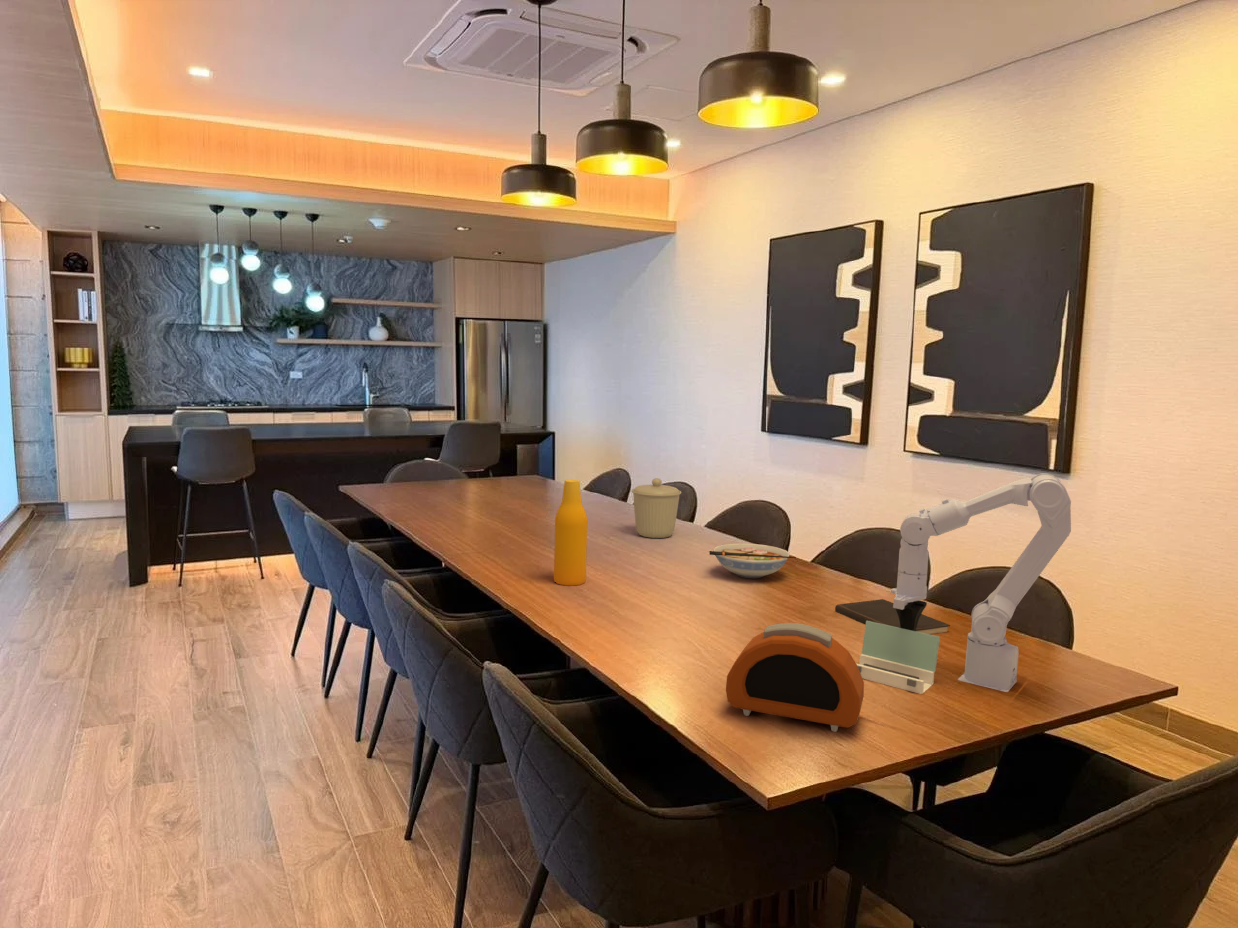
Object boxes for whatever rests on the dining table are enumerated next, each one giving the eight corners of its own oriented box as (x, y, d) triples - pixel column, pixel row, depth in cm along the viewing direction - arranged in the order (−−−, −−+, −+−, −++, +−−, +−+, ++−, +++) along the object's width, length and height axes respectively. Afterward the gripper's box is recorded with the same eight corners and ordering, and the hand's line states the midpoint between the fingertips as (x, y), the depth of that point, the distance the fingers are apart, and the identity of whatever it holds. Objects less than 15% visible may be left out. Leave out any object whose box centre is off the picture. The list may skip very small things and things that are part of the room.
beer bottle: (566, 587, 228) (569, 484, 225) (547, 580, 235) (548, 479, 232) (592, 582, 234) (595, 481, 231) (572, 575, 241) (574, 477, 238)
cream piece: (933, 686, 165) (934, 671, 164) (920, 697, 159) (921, 682, 158) (860, 667, 174) (861, 653, 174) (846, 677, 168) (847, 663, 168)
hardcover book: (882, 607, 221) (883, 598, 220) (949, 634, 200) (950, 624, 200) (834, 613, 214) (835, 604, 214) (898, 641, 193) (899, 632, 193)
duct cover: (934, 671, 165) (935, 671, 165) (939, 636, 165) (939, 636, 165) (861, 653, 174) (862, 653, 174) (866, 620, 174) (867, 620, 174)
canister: (626, 539, 294) (628, 480, 291) (634, 529, 311) (635, 473, 309) (677, 542, 291) (679, 483, 288) (681, 532, 309) (684, 476, 306)
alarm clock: (723, 713, 149) (727, 623, 147) (734, 695, 158) (739, 610, 156) (857, 737, 141) (864, 643, 139) (862, 717, 149) (868, 627, 147)
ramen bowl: (788, 568, 258) (789, 542, 257) (796, 588, 235) (798, 559, 234) (707, 564, 260) (709, 538, 259) (708, 583, 238) (709, 555, 237)
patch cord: (918, 684, 164) (919, 675, 164) (915, 687, 163) (916, 678, 162) (865, 670, 171) (865, 662, 170) (861, 673, 169) (862, 664, 169)
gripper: (905, 562, 179) (901, 623, 181) (880, 574, 168) (876, 639, 170) (938, 568, 175) (933, 630, 177) (915, 581, 164) (910, 647, 165)
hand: (907, 635), depth 173 cm, fingers closed
